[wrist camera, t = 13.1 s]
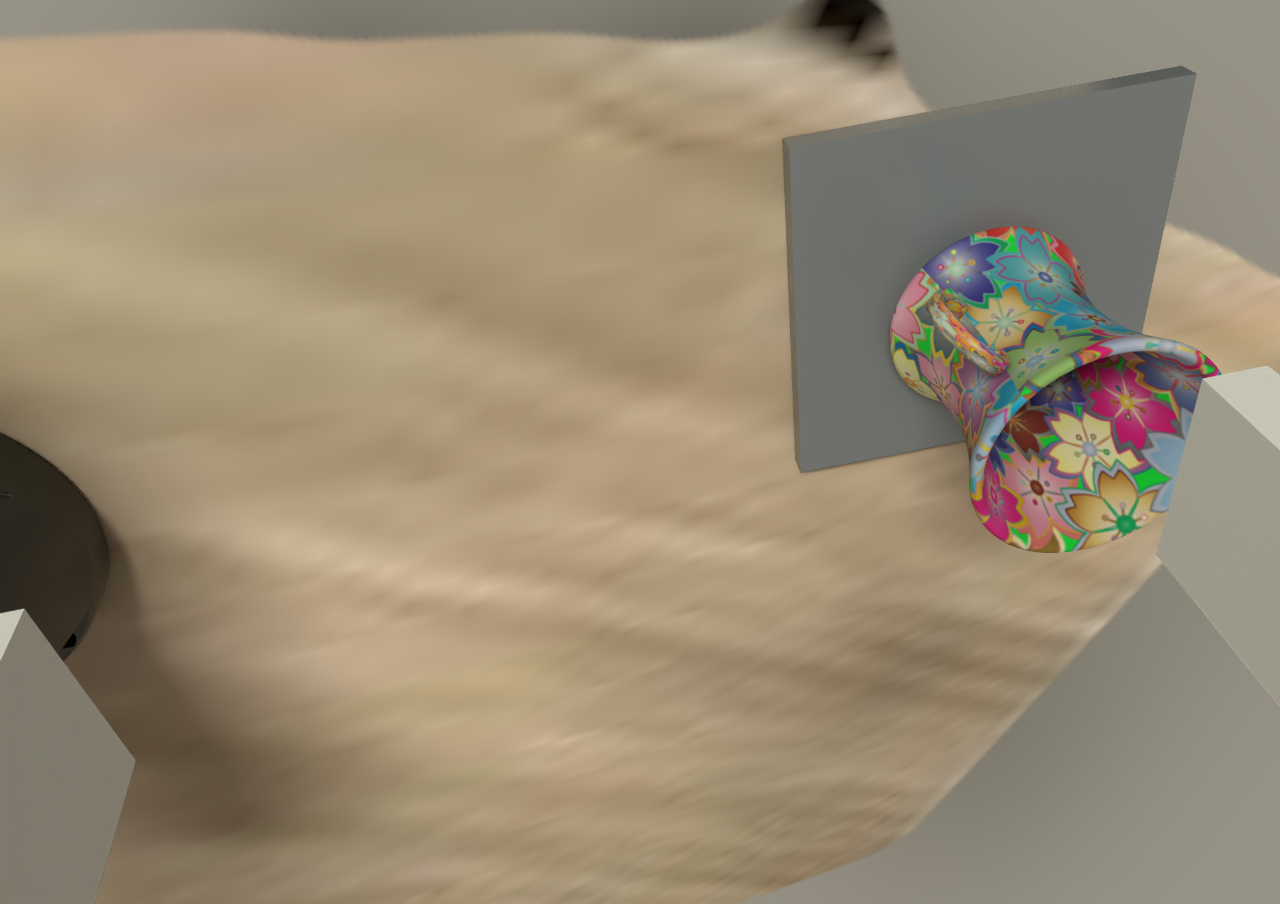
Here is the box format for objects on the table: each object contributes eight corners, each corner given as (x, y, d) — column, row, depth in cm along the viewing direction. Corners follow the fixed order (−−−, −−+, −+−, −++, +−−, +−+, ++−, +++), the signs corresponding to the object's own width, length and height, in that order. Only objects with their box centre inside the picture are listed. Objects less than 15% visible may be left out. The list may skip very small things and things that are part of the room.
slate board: (795, 459, 49) (801, 472, 48) (782, 138, 39) (789, 148, 38) (1115, 397, 49) (1125, 409, 49) (1181, 65, 40) (1196, 73, 39)
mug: (1122, 283, 44) (1279, 424, 36) (963, 429, 48) (1072, 587, 40) (950, 123, 39) (1088, 246, 30) (785, 303, 42) (867, 457, 34)
